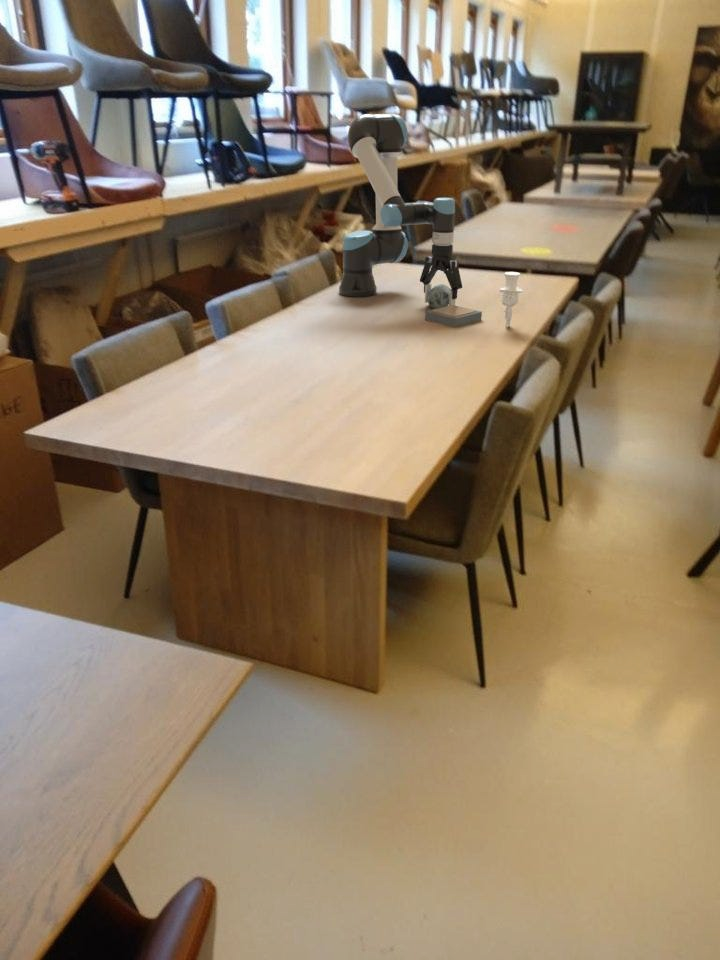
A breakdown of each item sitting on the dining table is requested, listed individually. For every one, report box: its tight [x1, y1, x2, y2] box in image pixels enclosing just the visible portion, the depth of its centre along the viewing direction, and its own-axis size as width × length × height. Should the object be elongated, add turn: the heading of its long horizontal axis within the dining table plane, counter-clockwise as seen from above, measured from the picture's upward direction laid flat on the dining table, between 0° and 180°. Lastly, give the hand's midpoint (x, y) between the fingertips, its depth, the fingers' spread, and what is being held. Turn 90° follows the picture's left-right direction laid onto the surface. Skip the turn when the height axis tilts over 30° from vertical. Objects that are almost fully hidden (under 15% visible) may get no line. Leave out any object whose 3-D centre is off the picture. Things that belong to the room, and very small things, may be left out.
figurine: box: [498, 271, 523, 328], centre depth 250 cm, size 10×8×18 cm
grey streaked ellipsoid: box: [427, 283, 451, 309], centre depth 277 cm, size 14×10×10 cm
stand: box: [424, 304, 483, 328], centre depth 262 cm, size 14×14×3 cm
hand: (439, 304), depth 278 cm, fingers closed on grey streaked ellipsoid, 11 cm apart
